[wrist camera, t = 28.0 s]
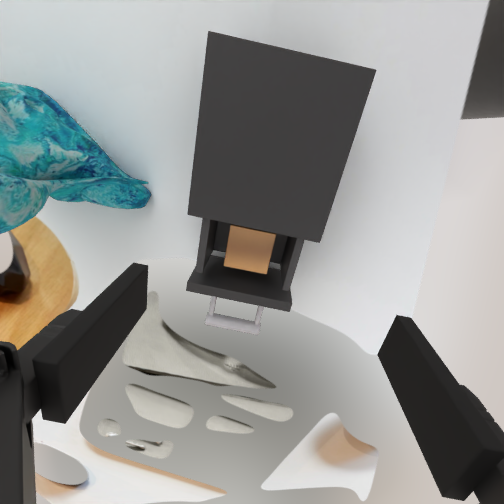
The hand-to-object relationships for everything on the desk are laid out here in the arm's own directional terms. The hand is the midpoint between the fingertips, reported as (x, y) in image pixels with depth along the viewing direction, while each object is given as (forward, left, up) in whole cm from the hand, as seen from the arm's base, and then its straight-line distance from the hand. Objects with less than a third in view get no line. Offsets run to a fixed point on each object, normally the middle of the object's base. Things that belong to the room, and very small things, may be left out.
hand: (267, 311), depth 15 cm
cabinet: (+1, -7, -23) cm, 24 cm away
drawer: (+1, +6, -22) cm, 23 cm away
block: (+1, +4, -21) cm, 21 cm away
